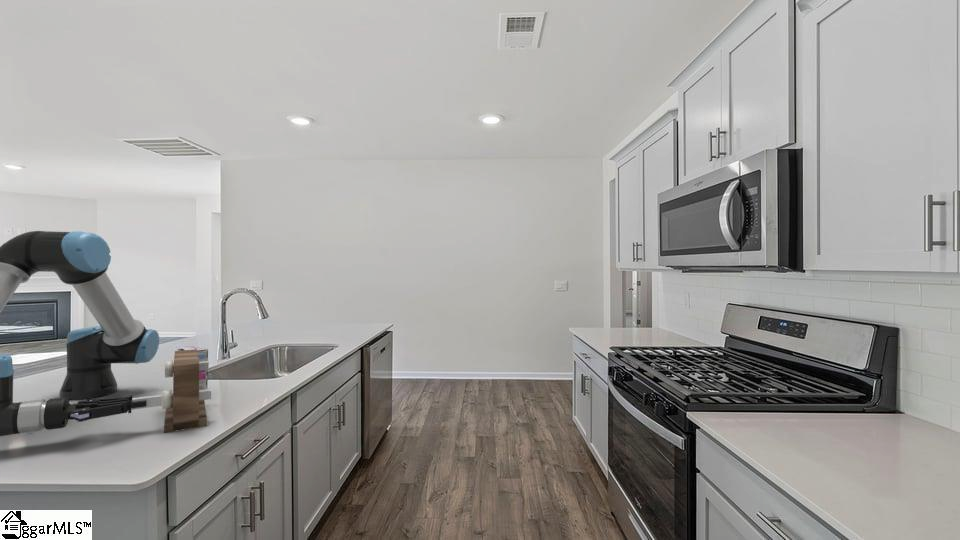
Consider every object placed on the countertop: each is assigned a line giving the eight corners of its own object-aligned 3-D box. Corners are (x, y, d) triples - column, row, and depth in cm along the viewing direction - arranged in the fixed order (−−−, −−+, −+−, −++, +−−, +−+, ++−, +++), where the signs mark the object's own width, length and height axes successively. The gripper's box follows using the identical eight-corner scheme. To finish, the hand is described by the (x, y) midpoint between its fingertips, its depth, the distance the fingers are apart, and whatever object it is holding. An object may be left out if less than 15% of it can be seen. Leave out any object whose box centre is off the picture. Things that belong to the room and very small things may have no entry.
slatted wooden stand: (166, 408, 143) (167, 351, 142) (203, 403, 148) (204, 348, 148) (164, 432, 123) (164, 366, 122) (207, 425, 128) (207, 362, 128)
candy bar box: (208, 396, 156) (208, 349, 156) (193, 400, 151) (193, 351, 151) (191, 391, 162) (192, 345, 161) (176, 394, 157) (176, 347, 157)
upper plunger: (165, 375, 142) (165, 359, 142) (207, 371, 148) (208, 356, 148) (164, 379, 138) (164, 362, 138) (208, 374, 144) (208, 359, 144)
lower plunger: (163, 406, 128) (163, 388, 128) (210, 400, 134) (210, 383, 134) (162, 411, 124) (162, 393, 123) (211, 404, 130) (211, 387, 130)
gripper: (52, 421, 118) (162, 407, 131) (38, 438, 107) (160, 420, 120) (52, 393, 118) (162, 381, 131) (38, 406, 107) (160, 392, 120)
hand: (161, 400), depth 125 cm, fingers closed
